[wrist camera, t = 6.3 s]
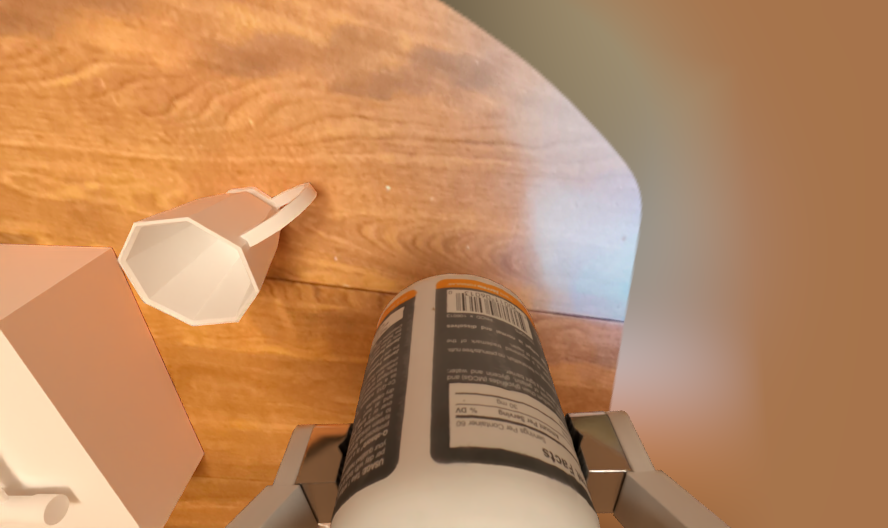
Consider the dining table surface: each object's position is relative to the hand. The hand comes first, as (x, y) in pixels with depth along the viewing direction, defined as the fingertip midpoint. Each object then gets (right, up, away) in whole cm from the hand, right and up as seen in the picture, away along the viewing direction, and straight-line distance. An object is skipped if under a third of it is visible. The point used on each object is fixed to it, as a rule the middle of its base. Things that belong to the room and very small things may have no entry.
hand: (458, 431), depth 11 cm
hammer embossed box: (-33, -5, +24) cm, 41 cm away
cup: (-13, +9, +16) cm, 22 cm away
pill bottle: (0, +2, +4) cm, 4 cm away
